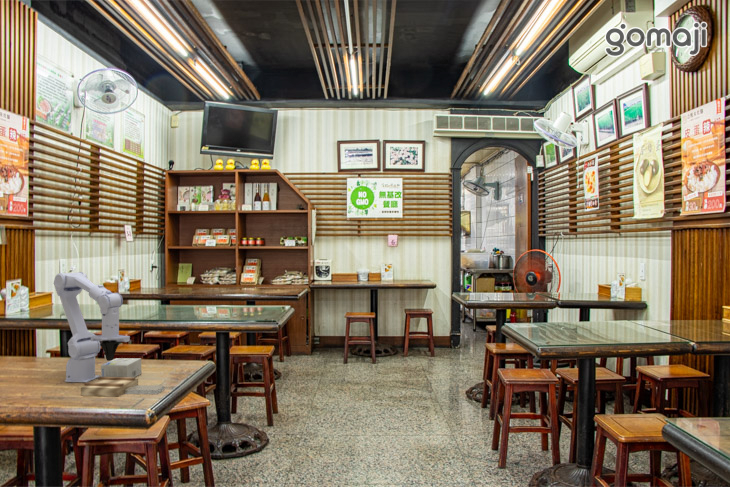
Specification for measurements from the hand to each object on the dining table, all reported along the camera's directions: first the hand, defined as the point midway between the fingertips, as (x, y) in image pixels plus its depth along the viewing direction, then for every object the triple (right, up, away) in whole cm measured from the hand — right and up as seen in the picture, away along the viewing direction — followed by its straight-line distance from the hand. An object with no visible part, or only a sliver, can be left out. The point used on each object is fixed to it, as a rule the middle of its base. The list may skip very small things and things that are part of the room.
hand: (110, 360), depth 168 cm
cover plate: (+18, -10, -8) cm, 22 cm away
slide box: (+5, -9, -7) cm, 13 cm away
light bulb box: (+5, -6, +9) cm, 12 cm away
